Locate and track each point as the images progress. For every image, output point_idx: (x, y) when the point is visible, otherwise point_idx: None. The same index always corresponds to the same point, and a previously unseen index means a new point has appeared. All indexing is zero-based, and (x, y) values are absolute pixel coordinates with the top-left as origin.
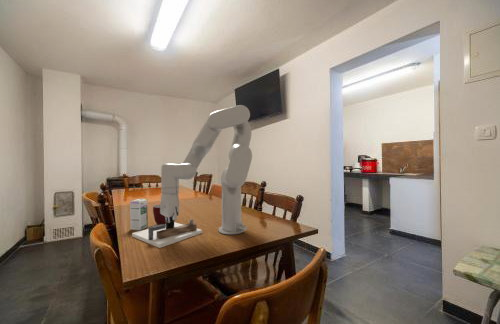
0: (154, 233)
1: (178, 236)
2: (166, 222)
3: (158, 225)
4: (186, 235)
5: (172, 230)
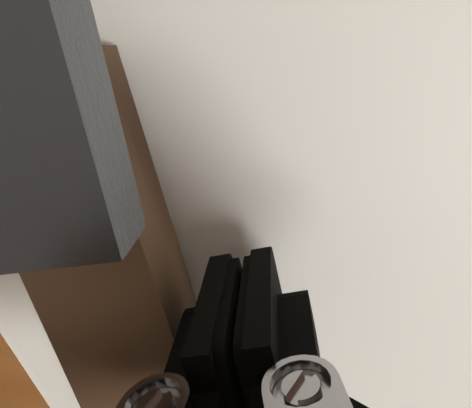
0: (385, 55)
1: (39, 325)
2: (251, 352)
3: (17, 107)
4: (51, 405)
5: (47, 319)
